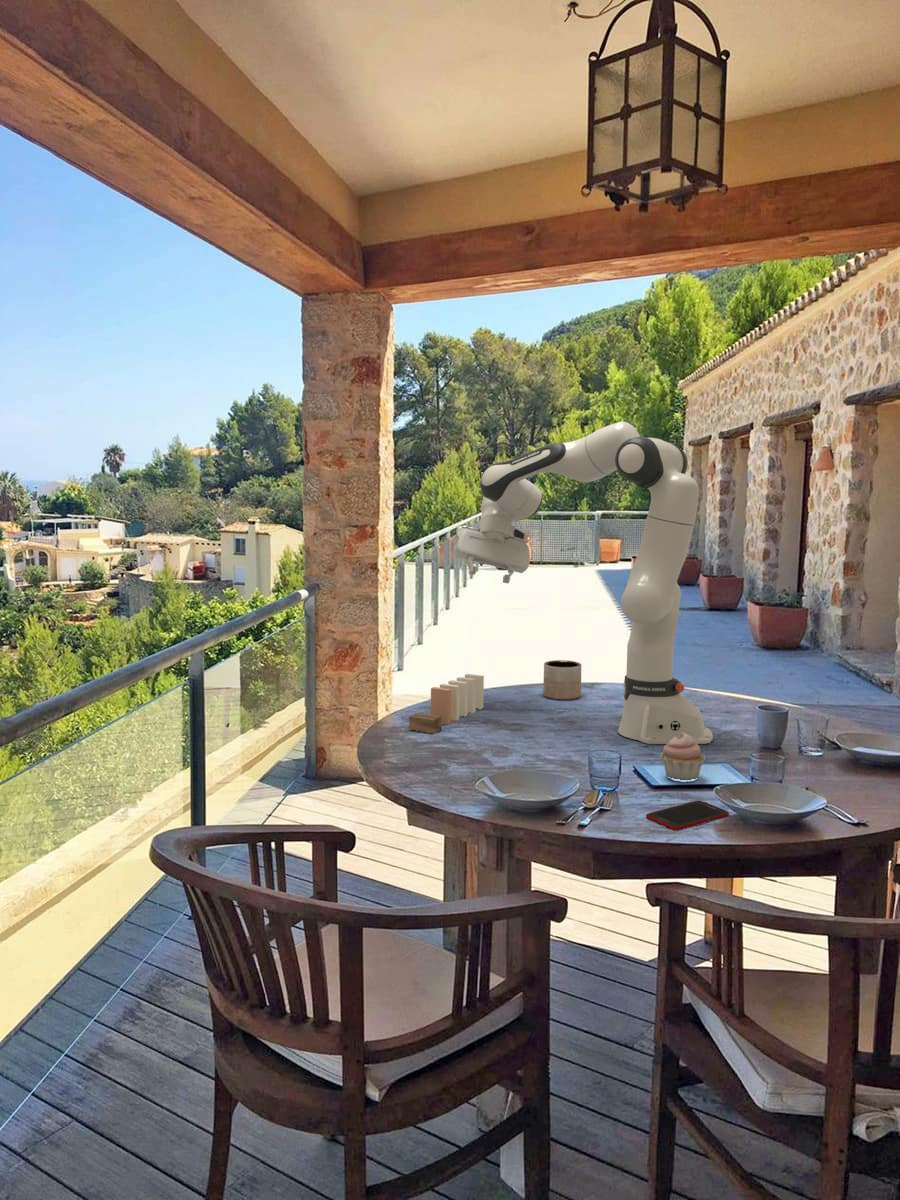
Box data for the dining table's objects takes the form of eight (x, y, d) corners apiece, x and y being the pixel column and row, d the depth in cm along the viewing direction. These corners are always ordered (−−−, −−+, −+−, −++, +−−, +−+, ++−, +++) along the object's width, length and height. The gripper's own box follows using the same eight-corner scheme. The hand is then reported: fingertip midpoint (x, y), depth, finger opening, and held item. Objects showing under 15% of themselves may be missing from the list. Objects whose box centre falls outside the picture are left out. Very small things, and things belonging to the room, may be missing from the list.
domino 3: (451, 713, 240) (451, 680, 238) (467, 715, 237) (467, 682, 236) (448, 714, 238) (448, 681, 237) (464, 716, 236) (465, 683, 235)
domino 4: (459, 709, 244) (459, 676, 242) (475, 711, 241) (475, 678, 240) (456, 710, 242) (456, 678, 241) (472, 713, 240) (473, 680, 239)
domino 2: (442, 717, 236) (442, 683, 234) (459, 719, 233) (459, 685, 232) (439, 718, 234) (439, 684, 233) (456, 720, 232) (456, 686, 231)
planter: (583, 701, 254) (584, 667, 253) (544, 700, 254) (545, 667, 253) (578, 692, 265) (579, 660, 263) (541, 691, 265) (542, 659, 264)
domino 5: (467, 705, 248) (467, 673, 246) (483, 708, 245) (483, 675, 244) (464, 707, 246) (464, 674, 245) (480, 709, 244) (481, 676, 243)
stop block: (417, 726, 226) (417, 712, 226) (441, 730, 223) (441, 716, 223) (409, 730, 223) (409, 716, 222) (433, 734, 220) (433, 720, 219)
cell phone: (643, 819, 166) (643, 814, 165) (699, 804, 173) (699, 799, 173) (674, 833, 159) (675, 828, 159) (731, 817, 167) (731, 812, 167)
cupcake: (654, 771, 192) (656, 725, 191) (698, 771, 192) (700, 726, 191) (663, 785, 183) (665, 737, 182) (709, 786, 183) (711, 738, 182)
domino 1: (433, 721, 232) (434, 686, 230) (450, 723, 229) (451, 689, 228) (430, 722, 230) (430, 688, 229) (447, 725, 228) (448, 690, 227)
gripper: (461, 518, 238) (455, 563, 232) (533, 536, 242) (529, 581, 236) (454, 529, 243) (448, 573, 237) (525, 547, 247) (521, 591, 241)
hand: (489, 578), depth 236 cm, fingers open, 8 cm apart
